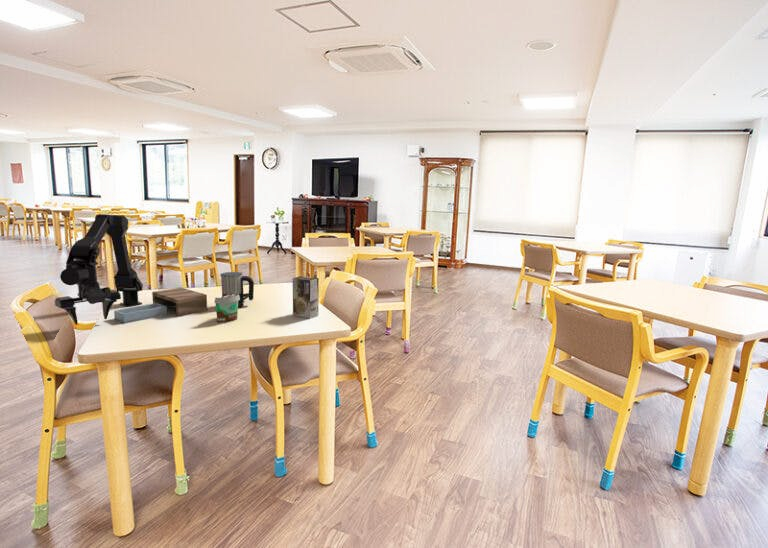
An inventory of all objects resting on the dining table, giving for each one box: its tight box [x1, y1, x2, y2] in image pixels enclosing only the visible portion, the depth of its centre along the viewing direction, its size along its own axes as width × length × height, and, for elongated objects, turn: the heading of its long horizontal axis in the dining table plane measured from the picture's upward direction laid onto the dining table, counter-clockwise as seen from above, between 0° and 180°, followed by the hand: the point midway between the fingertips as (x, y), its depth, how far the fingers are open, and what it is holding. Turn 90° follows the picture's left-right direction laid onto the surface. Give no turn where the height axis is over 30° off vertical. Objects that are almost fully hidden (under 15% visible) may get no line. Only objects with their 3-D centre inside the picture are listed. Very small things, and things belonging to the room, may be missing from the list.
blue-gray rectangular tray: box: [113, 302, 168, 324], centre depth 166 cm, size 8×16×4 cm, turn 145°
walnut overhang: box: [151, 286, 208, 318], centre depth 178 cm, size 20×12×7 cm, turn 55°
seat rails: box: [165, 302, 176, 309], centre depth 180 cm, size 14×8×2 cm, turn 55°
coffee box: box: [292, 275, 320, 319], centre depth 176 cm, size 9×6×16 cm
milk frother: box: [219, 271, 255, 309], centre depth 190 cm, size 14×16×15 cm
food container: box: [214, 292, 240, 323], centre depth 167 cm, size 12×6×10 cm, turn 168°
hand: (91, 321), depth 152 cm, fingers open, 9 cm apart
